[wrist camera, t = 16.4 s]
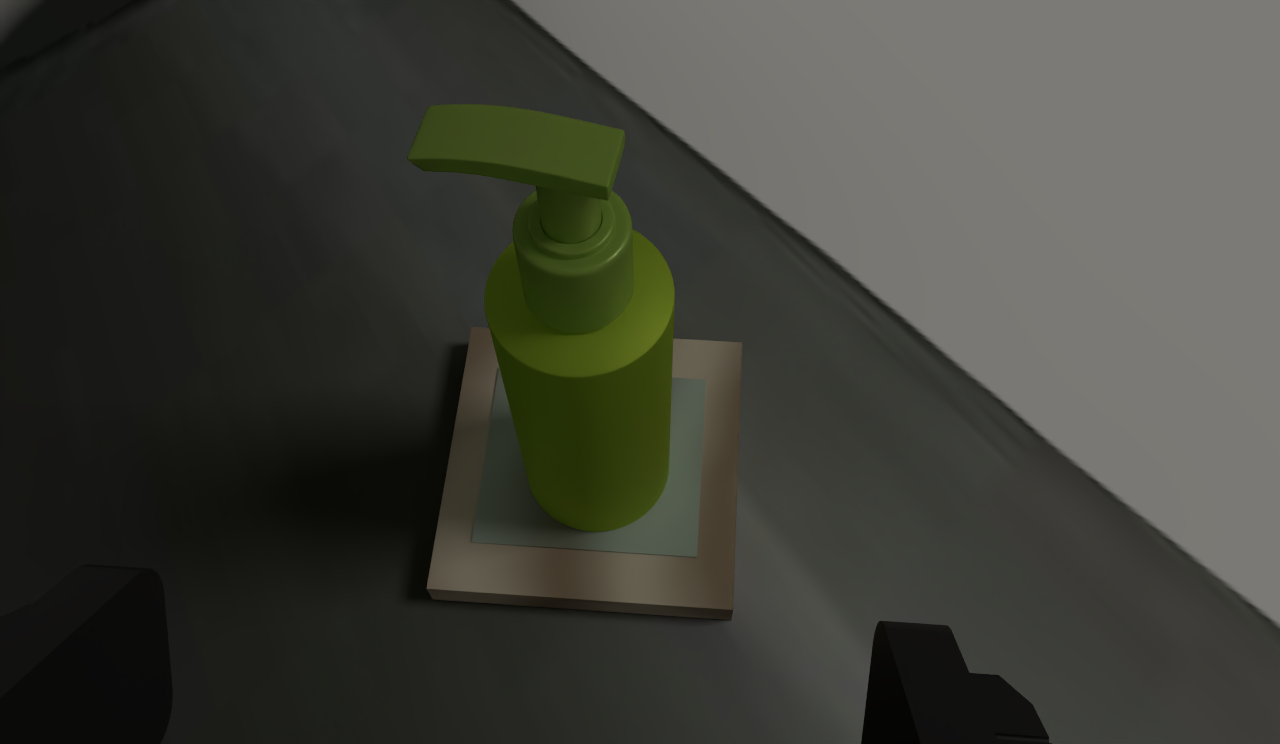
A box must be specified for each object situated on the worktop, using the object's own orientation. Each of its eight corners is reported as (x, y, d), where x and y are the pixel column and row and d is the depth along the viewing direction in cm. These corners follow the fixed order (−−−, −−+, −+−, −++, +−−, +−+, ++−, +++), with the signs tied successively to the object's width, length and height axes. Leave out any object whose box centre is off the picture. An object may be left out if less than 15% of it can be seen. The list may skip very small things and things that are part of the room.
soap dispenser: (524, 385, 47) (447, 36, 29) (682, 416, 46) (699, 77, 29) (485, 510, 44) (375, 209, 27) (652, 545, 43) (651, 258, 26)
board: (740, 358, 49) (742, 341, 48) (730, 620, 43) (733, 609, 42) (476, 342, 50) (471, 325, 48) (432, 599, 44) (426, 587, 43)
